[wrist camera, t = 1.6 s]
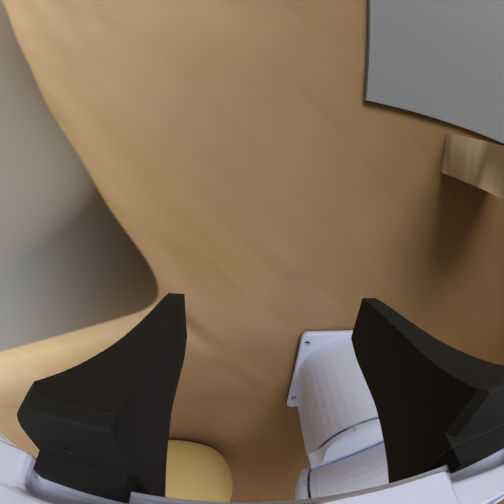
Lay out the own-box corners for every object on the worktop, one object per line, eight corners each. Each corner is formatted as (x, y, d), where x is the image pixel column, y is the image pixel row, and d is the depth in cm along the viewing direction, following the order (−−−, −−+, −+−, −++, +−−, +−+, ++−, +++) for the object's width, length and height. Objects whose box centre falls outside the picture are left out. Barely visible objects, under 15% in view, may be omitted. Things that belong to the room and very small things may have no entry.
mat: (537, 159, 18) (540, 160, 18) (363, 100, 17) (366, 100, 17) (536, 16, 12) (538, 16, 11) (363, -80, 10) (365, -82, 10)
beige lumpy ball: (120, 429, 30) (102, 504, 20) (215, 424, 29) (212, 513, 19) (161, 469, 35) (153, 532, 25) (242, 465, 34) (245, 534, 24)
